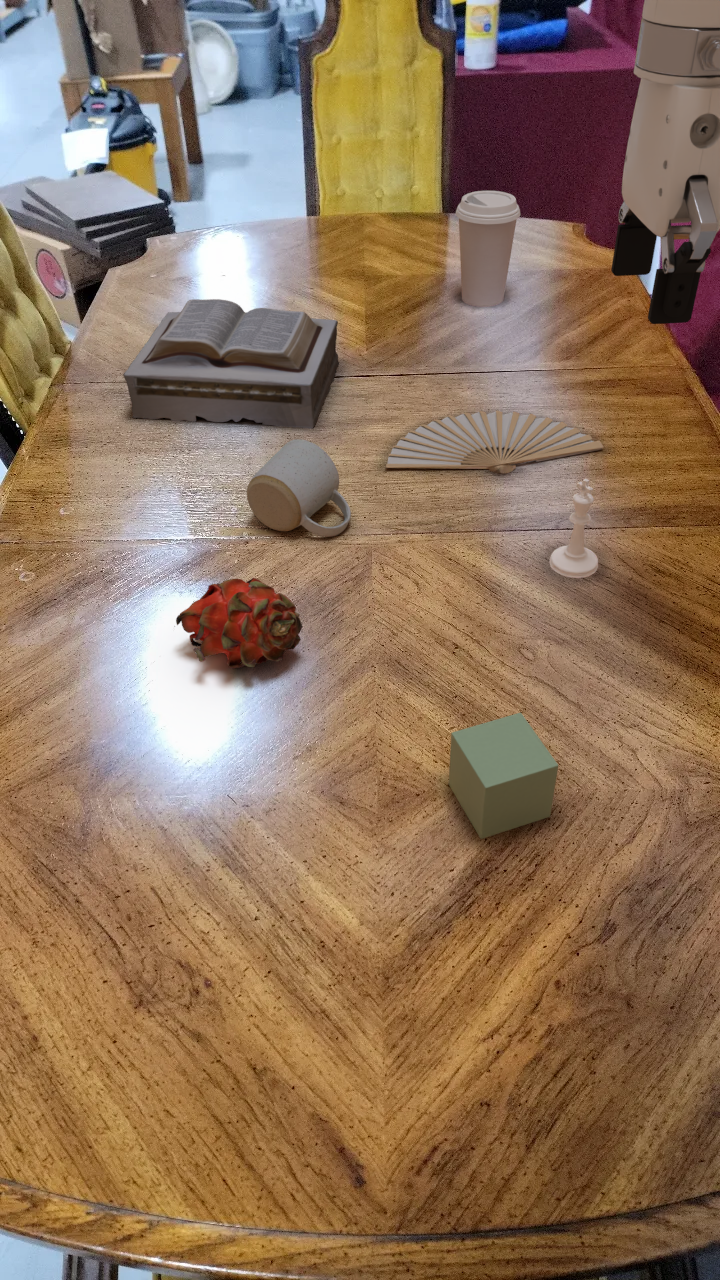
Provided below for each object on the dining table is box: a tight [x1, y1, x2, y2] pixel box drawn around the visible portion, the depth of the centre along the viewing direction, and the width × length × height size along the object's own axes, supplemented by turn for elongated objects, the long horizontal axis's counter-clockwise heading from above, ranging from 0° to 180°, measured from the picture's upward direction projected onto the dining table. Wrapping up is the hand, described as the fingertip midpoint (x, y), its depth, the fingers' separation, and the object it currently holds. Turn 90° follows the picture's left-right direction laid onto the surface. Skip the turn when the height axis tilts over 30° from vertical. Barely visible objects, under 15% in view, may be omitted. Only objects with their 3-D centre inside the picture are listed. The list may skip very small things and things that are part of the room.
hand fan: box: [385, 410, 605, 475], centre depth 120 cm, size 26×1×15 cm
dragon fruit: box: [173, 577, 304, 670], centre depth 90 cm, size 8×8×12 cm
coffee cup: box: [455, 190, 521, 308], centre depth 150 cm, size 10×10×15 cm
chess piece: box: [549, 478, 599, 579], centre depth 99 cm, size 5×5×10 cm
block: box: [448, 712, 559, 840], centre depth 76 cm, size 6×6×6 cm
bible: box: [122, 298, 340, 430], centre depth 130 cm, size 23×27×10 cm
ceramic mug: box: [246, 438, 352, 538], centre depth 107 cm, size 11×8×8 cm
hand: (648, 296), depth 79 cm, fingers open, 9 cm apart
